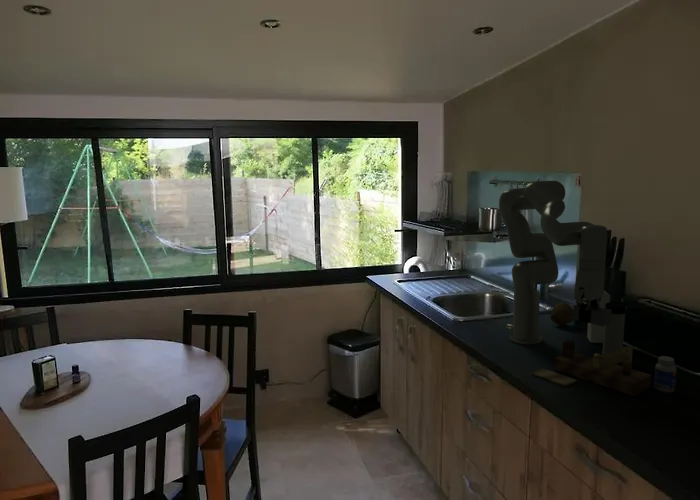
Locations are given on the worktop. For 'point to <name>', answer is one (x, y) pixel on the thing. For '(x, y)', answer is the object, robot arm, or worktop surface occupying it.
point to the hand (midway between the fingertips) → (588, 319)
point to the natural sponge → (562, 314)
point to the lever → (615, 359)
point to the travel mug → (614, 328)
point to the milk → (596, 331)
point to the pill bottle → (665, 374)
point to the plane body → (600, 372)
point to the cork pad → (554, 377)
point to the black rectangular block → (595, 315)
